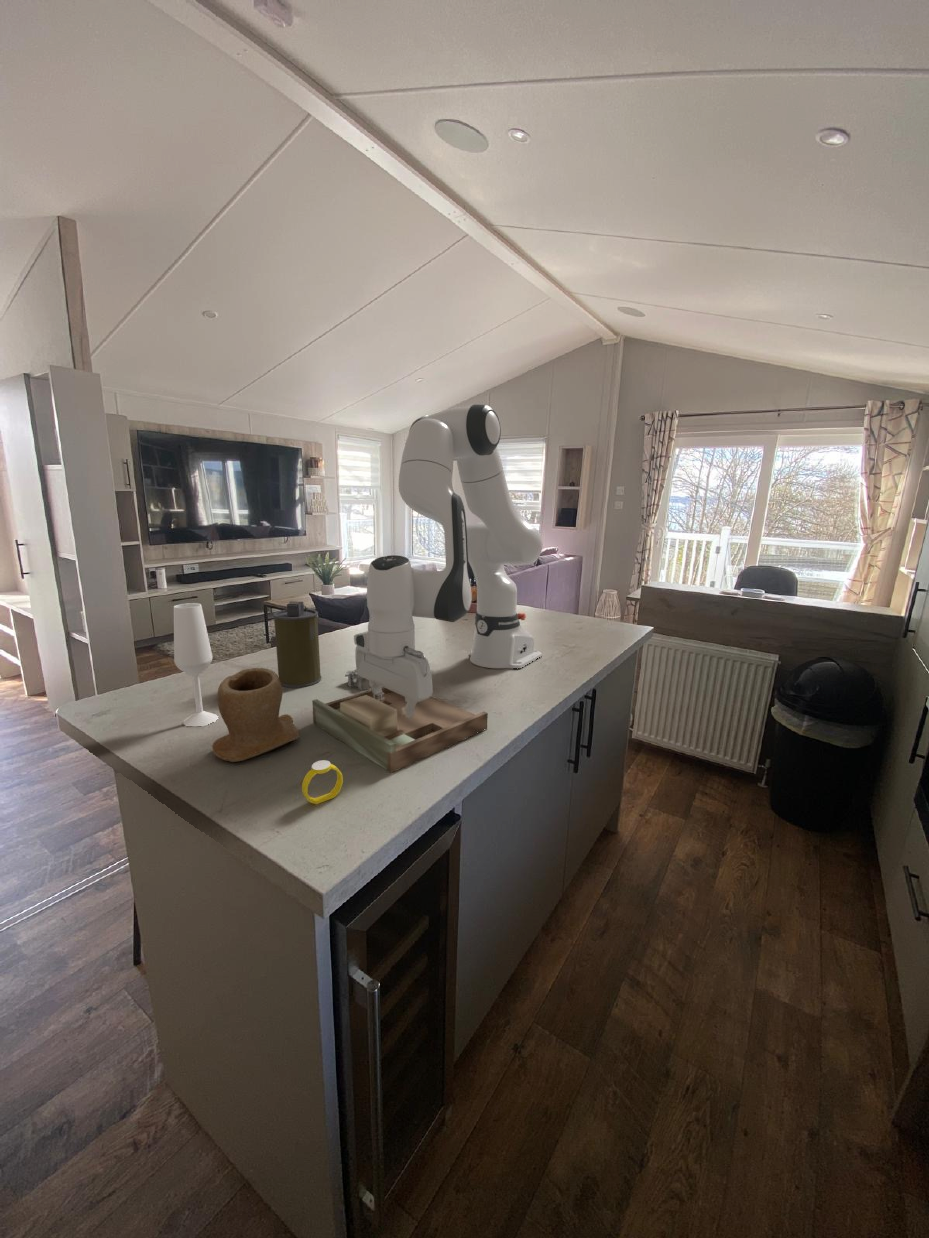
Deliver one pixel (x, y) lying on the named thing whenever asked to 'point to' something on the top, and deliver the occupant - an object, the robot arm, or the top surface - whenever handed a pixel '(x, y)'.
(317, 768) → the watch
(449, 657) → the top surface
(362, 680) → the egg carton
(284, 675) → the canister
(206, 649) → the champagne flute
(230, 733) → the clay pipe
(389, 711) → the block
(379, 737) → the brown shallow open piece
